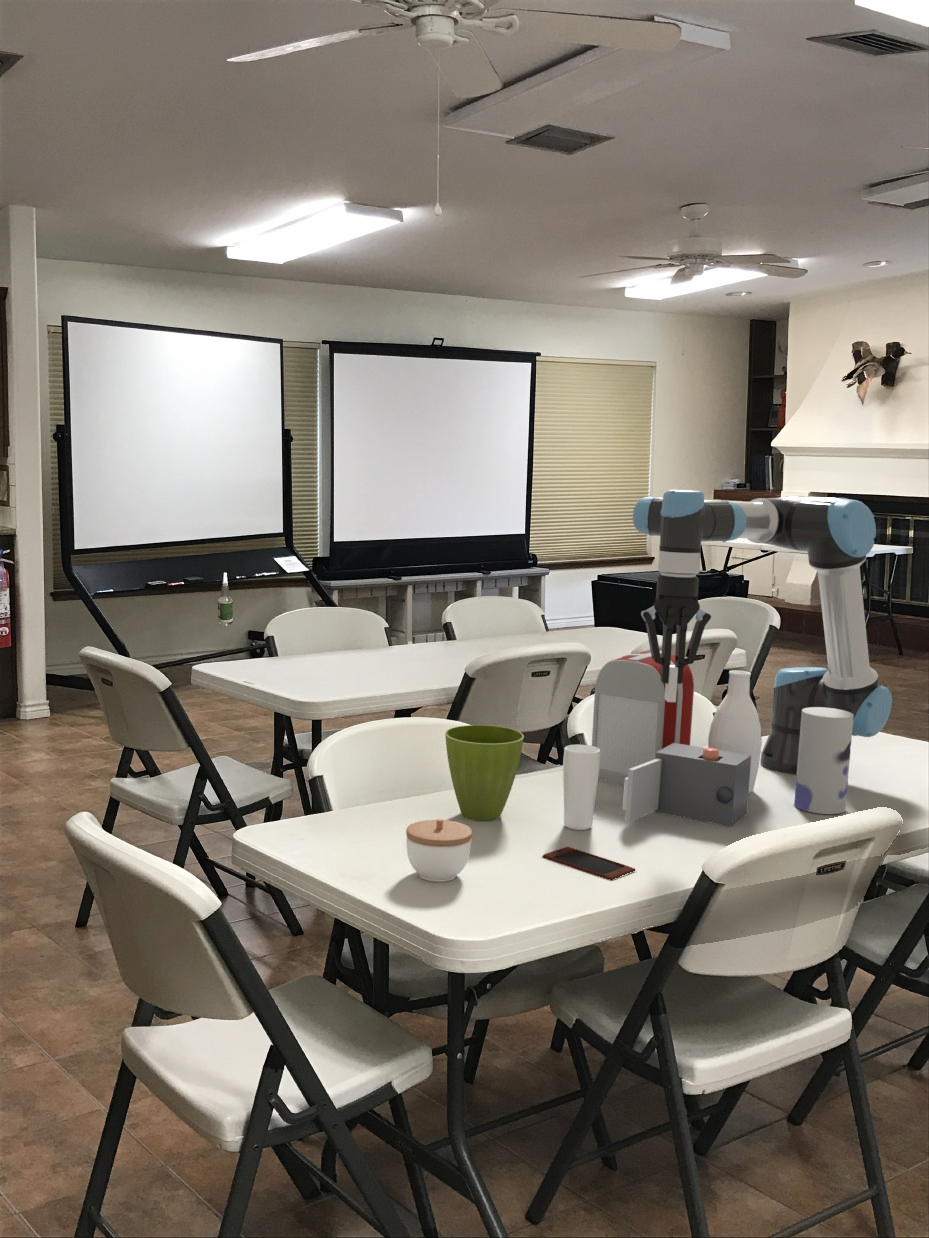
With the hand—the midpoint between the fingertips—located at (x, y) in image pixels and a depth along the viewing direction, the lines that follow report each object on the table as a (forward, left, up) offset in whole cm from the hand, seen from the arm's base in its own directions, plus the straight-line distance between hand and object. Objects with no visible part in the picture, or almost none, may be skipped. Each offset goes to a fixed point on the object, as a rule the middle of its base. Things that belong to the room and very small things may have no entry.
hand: (670, 700), depth 222 cm
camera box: (-14, +3, -24) cm, 28 cm away
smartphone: (+27, -3, -25) cm, 37 cm away
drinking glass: (+9, -13, -25) cm, 29 cm away
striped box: (-33, -17, -25) cm, 44 cm away
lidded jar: (+47, -21, -25) cm, 57 cm away
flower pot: (+14, -31, -25) cm, 42 cm away
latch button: (-12, +5, -13) cm, 18 cm away
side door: (-2, -5, -23) cm, 24 cm away
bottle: (-35, +3, -25) cm, 42 cm away
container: (-33, +22, -25) cm, 46 cm away
